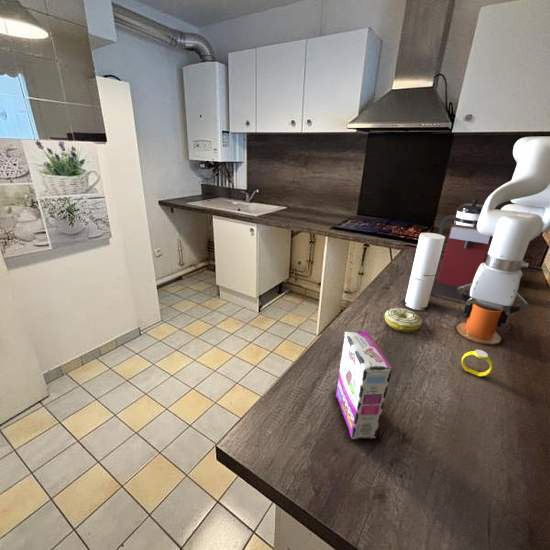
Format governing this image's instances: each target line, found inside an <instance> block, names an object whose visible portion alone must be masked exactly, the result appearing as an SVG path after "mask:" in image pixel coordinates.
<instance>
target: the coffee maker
mask: <svg viewBox="0 0 550 550" xmlns="http://www.w3.org/2000/svg"><path fill="white" fill-rule="evenodd" d="M492 238H493V236H487V235H483V234H481V233H479V232H478V230H477V227H471V226H464V225H456V224H454V223H452V224H451V226H450V231H449V234H448V238H447V241H446V243H447V245H446V246H445V249H444V253H443V256H444V257H443V256H442V261H441V265H440V269H439V271H438V275H437V279H436V280H437V281H436V283H435V285H434V287H433V288H432V290H431V294H434V295H438V296H443V297H446V298H450V299H454V300H458V301H462V302H465V301H464V300H463V299H462V297H461V295H460V294H459V292H458V290H457V289H458V287H461V286H463V285H466V284H469V283H472V282H473V280H474V277H475V274H476V272H477V270H478V268H479V266H480V265H481V263H485V260H486V257H487V254H488V251H489V248H490V245H491V241H492ZM465 293H466V294H467V296H468V297H469V296H470V289H468V290H465Z"/></svg>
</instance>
